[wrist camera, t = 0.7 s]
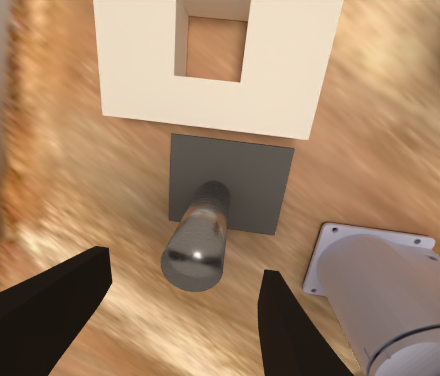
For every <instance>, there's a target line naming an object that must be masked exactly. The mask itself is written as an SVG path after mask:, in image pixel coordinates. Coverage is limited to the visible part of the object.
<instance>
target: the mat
mask: <svg viewBox="0 0 440 376" xmlns="http://www.w3.org/2000/svg"><path fill="white" fill-rule="evenodd" d="M294 150H295V149H294V148H286V147H278V146H270V145H262V144H254V143H246V142H238V141H230V140H221V139H213V138H205V137H197V136H189V135H181V134H173V133H172V134H171V154H170V191H169V220H170V221H177V222H181V220H182V218H183V216H184V214H185V213H186V211H187V209H188V207H189V205H190V204H191V202H192V200H193V198H194V196H195V195H196V193H197V191H198V189H199V187H200V186H201V185H202V184H204V183H205V182H208V181H218V182H221V183H222V184H224V185H225V186H226V187H227V188H228V190H229V192H230V207H229V216H228V226H227V229H233V230H240V231H247V232H254V233H261V234H268V235H275V231H276V226H277V222H278V218H279V214H280V209H281V205H282V201H283V197H284V192H285V188H286V184H287V179H288V175H289V171H290V167H291V162H292V158H293V154H294Z"/></svg>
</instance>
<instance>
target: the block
mask: <svg viewBox="0 0 440 376" xmlns="http://www.w3.org/2000/svg"><path fill="white" fill-rule="evenodd" d="M343 1H344V0H93V2H94V14H95V26H96V39H97V51H98V63H99V76H100V88H101V100H102V113H103V115H106V116H114V117H122V118H131V119H139V120H147V121H155V122H164V123H172V124H180V125H189V126H197V127H205V128H213V129H222V130H230V131H238V132H246V133H255V134H263V135H271V136H280V137H288V138H296V139H304V140H308V139H309V135H310V131H311V127H312V123H313V119H314V115H315V111H316V107H317V103H318V100H319V96H320V92H321V88H322V84H323V80H324V76H325V72H326V68H327V64H328V60H329V56H330V52H331V48H332V44H333V40H334V36H335V32H336V28H337V24H338V20H339V17H340V13H341V9H342V5H343ZM189 16H195V17H206V18H216V19H227V20H237V21H247V22H248V28H247V36H246V43H245V51H244V59H243V66H242V74H241V82H240V83H237V82H228V81H219V80H210V79H201V78H192V77H186V64H187V43H188V22H189Z"/></svg>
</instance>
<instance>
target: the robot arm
mask: <svg viewBox="0 0 440 376" xmlns="http://www.w3.org/2000/svg"><path fill="white" fill-rule="evenodd" d="M333 228H336V229H335V230H332V229H333ZM416 239H417V240H416ZM415 240H416V241H415ZM434 244H435V240H434V239H433V238H431V237H429V236H423V235H416V234H409V233H402V232H394V231H387V230H380V229H373V228H365V227H358V226H351V225H344V224H337V223H325V224H323V226H322V228H321V231H320V235H319V238H318V241H317V244H316V247H315V250H314V253H313V256H312V259H311V263H310V266H309V269H308V272H307V275H306V278H305V281H304V284H303V290H304V292H305V293H308V294H314V295H321V296H327V298H328V301H329V303H330V305H331V307H332V309H333V311H334V313H335V315H336V317H337V319H338V321H339V323H340V325H341V327H342V329H343V332H344V334H345V336H346V338H347V340H348V342H349V344H350V346H351V348H352V350H353V352H354V354H355V356H356V358H357V360H358V363H359V365H360V367H361V369H362V371H363V373H364V374H365V376H440V255H438V254H437V253H435V252H434V251H433V250H432V248H433V246H434ZM111 284H112V274H111V265H110V256H109V248H107V247H99V246H95V247H93V248H90V249H88V250H86V251H84V252H82V253H80V254H78V255H76V256H74V257H72V258H70V259H68V260H66V261H64V262H62V263H60V264H58V265H56V266H54V267H52V268H50V269H48V270H46V271H44V272H42V273H40V274H38V275H36V276H34V277H32V278H30V279H28V280H25V281H23V282H21V283H19V284H17V285H15V286H13V287H10V288H8V289H6V290H4V291H2V292H0V376H48V375H49V373H50V372H51V370H52V369H53V368H54V366H55V365H56V363H57V362H58V360H59V359H60V358H61V356H62V355H63V354H64V352H65V351H66V350H67V348H68V347H69V346H70V344H71V343H72V342H73V340H74V339H75V338H76V336H77V335H78V333H79V332H80V331H81V329H82V328H83V327H84V325H85V324H86V323H87V321H88V320H89V319H90V317H91V316H92V315H93V313H94V312H95V310H96V309H97V308H98V306H99V305H100V303H101V302H102V300H103V298H104V296H105V295H106V293H107V291H108V289H109V288H110V286H111ZM312 289H314V290H312ZM258 329H259V337H260V345H261V352H262V359H263V366H264V374H265V376H354V375H353V374H352V373H351V371H350V370H349V369H348V368H347V367H346V365H345V364H344V363H343V362H342V361H341V359H340V358H339V357H338V356H337V355H336V353H335V352H334V351H333V349H332V348H331V347H330V346H329V344H328V343H327V342H326V340H325V339H324V338H323V336H322V335H321V334H320V332H319V331H318V330H317V328H316V327H315V326H314V324H313V323H312V321H311V320H310V319H309V317H308V316H307V314H306V313H305V311H304V310H303V308H302V307H301V306H300V304H299V303H298V301H297V299H296V298H295V296H294V295H293V293H292V292H291V290H290V289H289V287H288V285H287V284H286V282H285V280H284V279H283V277H282V275H281V274H280V273H279V271H273V270H266V269H265V270H264V275H263V280H262V285H261V289H260V294H259V299H258Z"/></svg>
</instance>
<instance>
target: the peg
mask: <svg viewBox="0 0 440 376" xmlns="http://www.w3.org/2000/svg"><path fill="white" fill-rule="evenodd" d="M229 207H230V192H229V190H228V188H227V187H226V186H225V185H224V184H222V183H221V182H218V181H208V182H205V183H204V184H202V185H201V186H200V187H199V189H198V191H197V193H196V195H195V196H194V198H193V200H192V202H191V204H190V205H189V207H188V209H187V211H186V213H185V214H184V216H183V218H182V220H181V222H180V223H179V225H178V227H177V229H176V231H175V233H174V234H173V236H172V238H171V240H170V242H169V243H168V245H167V247H166V249H165V251H164V252H163V255H162V257H161V269H162V272H163V274H164V276H165V277H166V279H167V280H168V281H169V282H170V283H172V284H173V285H174V286H176V287H178V288H180V289H182V290H185V291H190V292H201V291H205V290H208V289H210V288H212V287H214V286H215V285H216V284H217V283H218V282H219V280H220V279H221V276H222V273H223V264H224V254H225V245H226V235H227V226H228V216H229Z"/></svg>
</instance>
